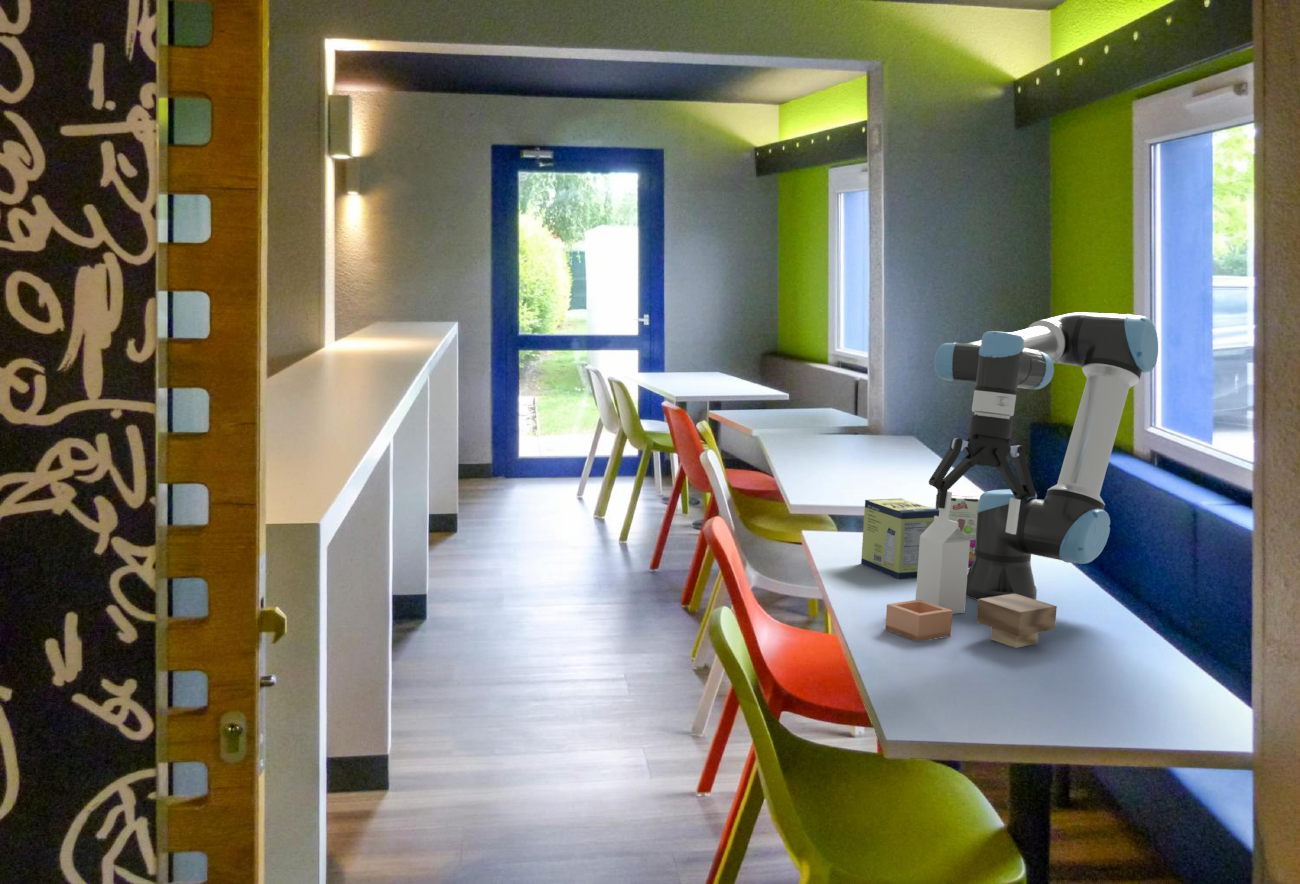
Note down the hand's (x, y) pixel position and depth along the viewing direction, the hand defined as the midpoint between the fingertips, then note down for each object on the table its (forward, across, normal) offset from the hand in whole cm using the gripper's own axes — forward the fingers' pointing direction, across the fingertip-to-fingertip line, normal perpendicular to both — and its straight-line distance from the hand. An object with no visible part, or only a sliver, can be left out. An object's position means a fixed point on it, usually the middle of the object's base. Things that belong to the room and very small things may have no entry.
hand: (976, 530), depth 227 cm
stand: (+20, +11, 0) cm, 23 cm away
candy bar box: (+15, +26, +62) cm, 69 cm away
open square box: (+21, -6, +6) cm, 23 cm away
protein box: (+17, +9, +56) cm, 59 cm away
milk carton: (+20, +5, +22) cm, 30 cm away
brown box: (+17, +10, 0) cm, 20 cm away
